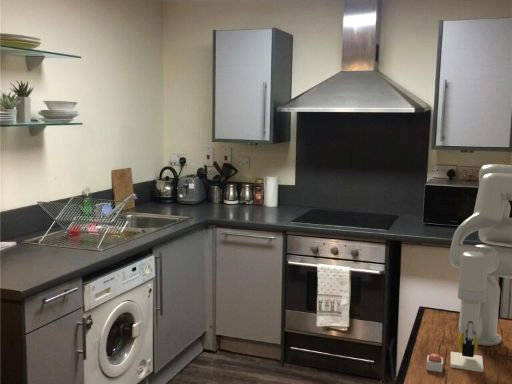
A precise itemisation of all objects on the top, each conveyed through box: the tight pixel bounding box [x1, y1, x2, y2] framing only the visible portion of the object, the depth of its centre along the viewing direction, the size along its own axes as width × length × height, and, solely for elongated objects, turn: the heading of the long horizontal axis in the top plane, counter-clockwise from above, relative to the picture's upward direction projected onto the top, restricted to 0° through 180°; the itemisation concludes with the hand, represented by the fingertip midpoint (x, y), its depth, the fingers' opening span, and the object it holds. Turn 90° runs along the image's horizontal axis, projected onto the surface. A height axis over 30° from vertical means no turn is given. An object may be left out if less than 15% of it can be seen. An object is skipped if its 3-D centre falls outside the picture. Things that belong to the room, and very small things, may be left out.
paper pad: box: [450, 351, 484, 373], centre depth 168 cm, size 9×9×1 cm
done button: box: [430, 353, 441, 363], centre depth 165 cm, size 3×3×2 cm
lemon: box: [457, 331, 479, 353], centre depth 167 cm, size 6×6×8 cm
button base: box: [426, 354, 444, 373], centre depth 165 cm, size 4×4×3 cm
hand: (467, 351), depth 168 cm, fingers closed on lemon, 5 cm apart
